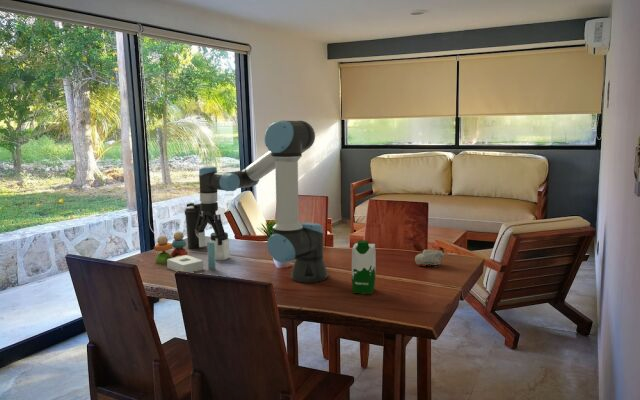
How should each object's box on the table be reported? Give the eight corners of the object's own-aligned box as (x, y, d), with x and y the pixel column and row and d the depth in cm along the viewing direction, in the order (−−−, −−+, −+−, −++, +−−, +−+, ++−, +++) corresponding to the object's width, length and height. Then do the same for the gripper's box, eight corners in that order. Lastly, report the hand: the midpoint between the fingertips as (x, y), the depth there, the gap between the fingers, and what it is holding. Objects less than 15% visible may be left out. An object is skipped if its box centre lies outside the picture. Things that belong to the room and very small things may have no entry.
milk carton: (350, 294, 194) (350, 242, 191) (354, 287, 203) (354, 237, 200) (373, 296, 192) (374, 243, 189) (376, 288, 201) (376, 238, 198)
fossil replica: (411, 264, 234) (422, 272, 225) (411, 247, 232) (422, 254, 223) (435, 259, 238) (447, 267, 229) (435, 242, 236) (447, 249, 227)
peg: (216, 268, 230) (215, 242, 228) (210, 270, 228) (209, 243, 226) (212, 267, 232) (211, 241, 230) (207, 268, 230) (206, 242, 228)
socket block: (203, 269, 229) (203, 260, 229) (183, 274, 222) (183, 265, 222) (187, 263, 239) (186, 255, 239) (167, 267, 232) (166, 259, 232)
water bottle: (196, 250, 264) (193, 205, 260) (182, 247, 269) (179, 204, 266) (210, 246, 272) (208, 203, 269) (196, 243, 278) (194, 201, 274)
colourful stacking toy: (186, 264, 238) (185, 238, 236) (151, 263, 241) (150, 237, 239) (202, 255, 255) (201, 230, 253) (169, 253, 258) (168, 229, 256)
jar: (232, 258, 247) (231, 233, 246) (217, 261, 242) (216, 236, 240) (223, 254, 254) (222, 231, 252) (208, 257, 249) (207, 233, 247)
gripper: (232, 204, 219) (234, 253, 223) (201, 197, 237) (202, 242, 240) (217, 206, 214) (219, 256, 218) (186, 199, 232) (188, 245, 235)
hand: (210, 249), depth 229 cm, fingers open, 13 cm apart
